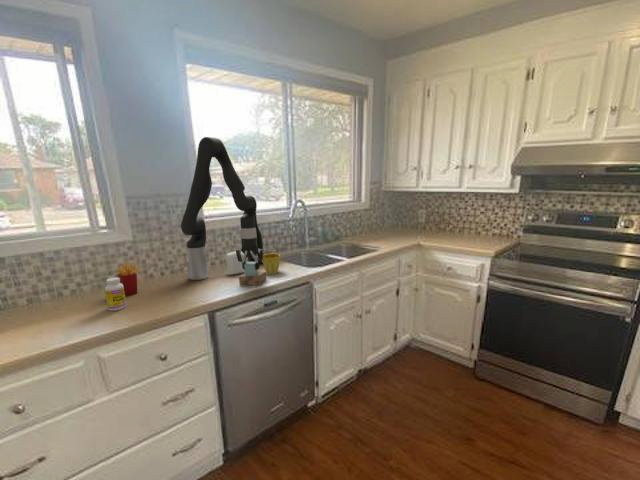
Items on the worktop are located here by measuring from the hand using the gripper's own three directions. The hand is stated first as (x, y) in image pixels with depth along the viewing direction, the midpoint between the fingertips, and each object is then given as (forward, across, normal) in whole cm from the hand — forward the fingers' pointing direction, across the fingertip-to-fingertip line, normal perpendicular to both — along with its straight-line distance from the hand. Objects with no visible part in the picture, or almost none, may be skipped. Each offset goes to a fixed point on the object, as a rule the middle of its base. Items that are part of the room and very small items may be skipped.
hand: (251, 269), depth 162 cm
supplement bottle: (+7, -49, -32) cm, 59 cm away
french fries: (+7, -55, -14) cm, 57 cm away
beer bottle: (+7, -9, +39) cm, 41 cm away
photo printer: (+7, -14, +17) cm, 23 cm away
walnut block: (+8, 0, 0) cm, 8 cm away
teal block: (+3, 0, 0) cm, 3 cm away
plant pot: (+7, +6, +18) cm, 20 cm away
